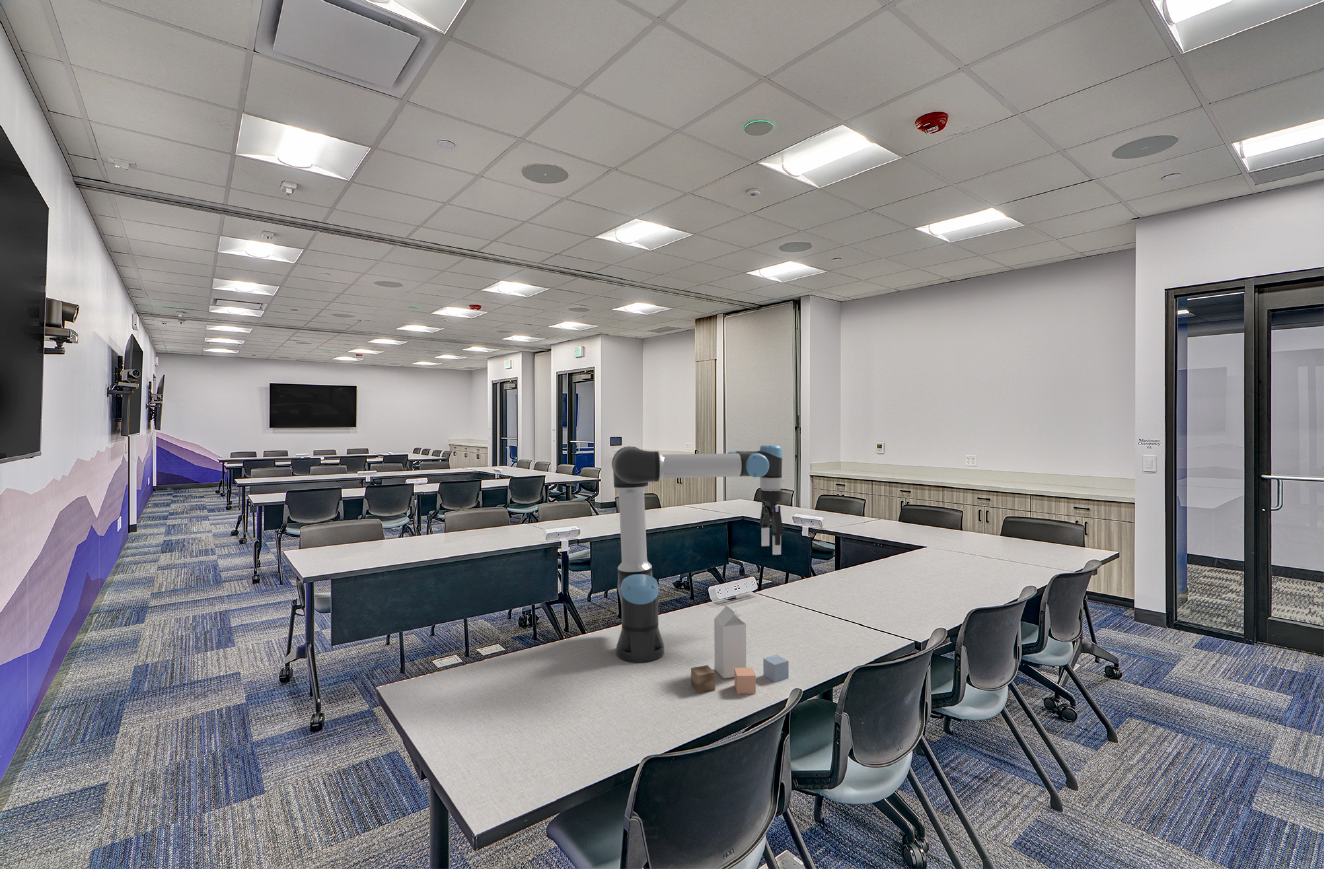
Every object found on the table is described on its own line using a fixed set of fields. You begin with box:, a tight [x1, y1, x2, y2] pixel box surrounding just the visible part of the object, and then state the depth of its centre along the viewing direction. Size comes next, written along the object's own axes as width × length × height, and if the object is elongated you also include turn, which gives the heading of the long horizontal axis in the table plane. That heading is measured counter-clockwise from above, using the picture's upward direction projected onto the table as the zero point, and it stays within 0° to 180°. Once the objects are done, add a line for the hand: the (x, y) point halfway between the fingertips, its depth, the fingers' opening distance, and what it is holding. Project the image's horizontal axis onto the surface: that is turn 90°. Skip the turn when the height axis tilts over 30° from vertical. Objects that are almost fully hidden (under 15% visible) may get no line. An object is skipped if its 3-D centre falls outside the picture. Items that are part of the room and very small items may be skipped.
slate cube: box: [762, 654, 790, 683], centre depth 164 cm, size 5×5×5 cm
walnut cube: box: [690, 664, 716, 694], centre depth 158 cm, size 5×5×5 cm
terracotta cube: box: [733, 667, 757, 695], centre depth 157 cm, size 5×5×5 cm
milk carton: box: [713, 603, 747, 679], centre depth 167 cm, size 7×7×19 cm
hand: (770, 550), depth 202 cm, fingers open, 13 cm apart
